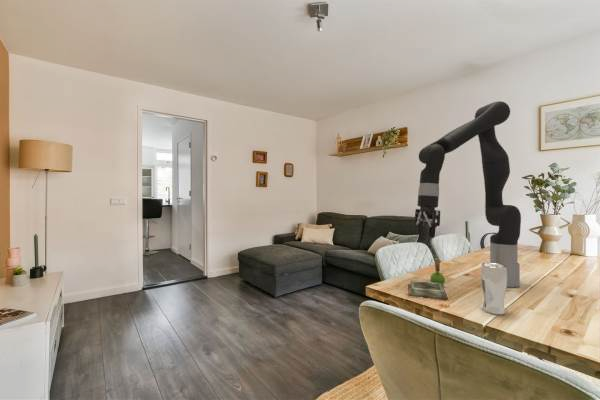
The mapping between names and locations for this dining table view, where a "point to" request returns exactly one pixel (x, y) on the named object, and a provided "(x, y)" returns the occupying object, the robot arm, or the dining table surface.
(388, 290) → the dining table surface
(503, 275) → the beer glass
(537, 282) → the dining table surface
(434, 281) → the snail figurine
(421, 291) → the grey shallow tray
